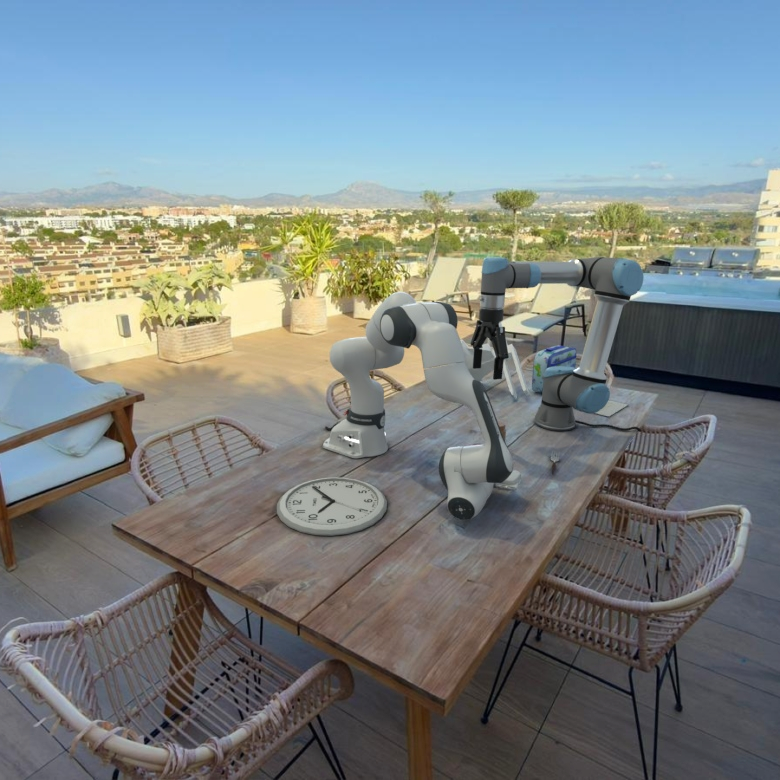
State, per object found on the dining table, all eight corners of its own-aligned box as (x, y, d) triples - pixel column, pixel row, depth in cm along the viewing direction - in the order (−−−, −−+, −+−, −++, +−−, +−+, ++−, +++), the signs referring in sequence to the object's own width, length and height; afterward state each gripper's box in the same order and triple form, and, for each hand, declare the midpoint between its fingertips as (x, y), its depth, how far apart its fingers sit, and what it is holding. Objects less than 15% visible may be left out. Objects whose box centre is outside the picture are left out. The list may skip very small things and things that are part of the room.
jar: (502, 472, 164) (507, 421, 159) (500, 479, 159) (505, 427, 154) (485, 469, 166) (489, 419, 161) (482, 477, 161) (486, 425, 156)
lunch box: (548, 398, 236) (553, 353, 229) (527, 393, 243) (531, 349, 237) (575, 387, 253) (581, 344, 247) (555, 382, 260) (560, 341, 254)
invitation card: (608, 416, 214) (573, 407, 224) (608, 416, 214) (573, 408, 224) (628, 404, 229) (594, 396, 238) (628, 405, 229) (594, 397, 238)
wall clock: (392, 527, 129) (268, 531, 127) (391, 533, 130) (269, 537, 127) (383, 473, 158) (282, 475, 155) (383, 478, 158) (282, 480, 156)
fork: (547, 475, 162) (548, 469, 162) (551, 455, 176) (551, 449, 176) (556, 476, 161) (557, 470, 161) (559, 456, 176) (560, 451, 175)
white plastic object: (461, 429, 252) (437, 405, 227) (444, 352, 274) (420, 323, 250) (535, 404, 240) (518, 377, 215) (510, 326, 262) (492, 293, 237)
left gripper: (516, 480, 138) (526, 460, 150) (443, 465, 146) (458, 447, 158) (514, 501, 140) (524, 480, 152) (442, 485, 148) (457, 466, 160)
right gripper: (462, 303, 174) (459, 364, 180) (501, 314, 151) (496, 384, 158) (483, 302, 176) (478, 363, 182) (524, 313, 154) (517, 383, 160)
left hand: (490, 463), depth 155 cm, fingers open, 8 cm apart
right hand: (486, 373), depth 170 cm, fingers open, 13 cm apart
